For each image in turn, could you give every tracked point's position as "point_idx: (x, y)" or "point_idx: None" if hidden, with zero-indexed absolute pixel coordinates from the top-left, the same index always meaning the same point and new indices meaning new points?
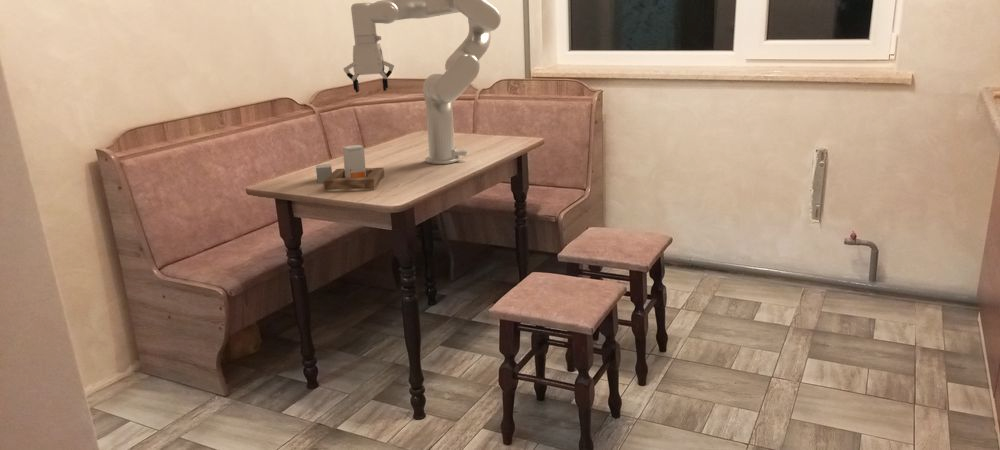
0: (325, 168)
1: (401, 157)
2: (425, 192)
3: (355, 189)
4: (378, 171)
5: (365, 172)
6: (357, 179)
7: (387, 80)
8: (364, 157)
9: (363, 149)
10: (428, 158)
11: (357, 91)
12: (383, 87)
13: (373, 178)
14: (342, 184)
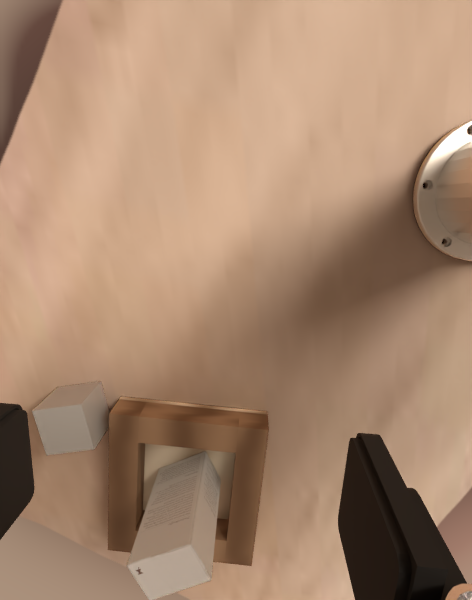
0: (77, 449)
1: (313, 70)
2: None
3: None
4: (256, 478)
5: (218, 502)
6: None
7: (457, 577)
8: (214, 543)
9: (210, 571)
10: (431, 192)
11: (27, 500)
12: (349, 556)
13: (250, 556)
14: None
